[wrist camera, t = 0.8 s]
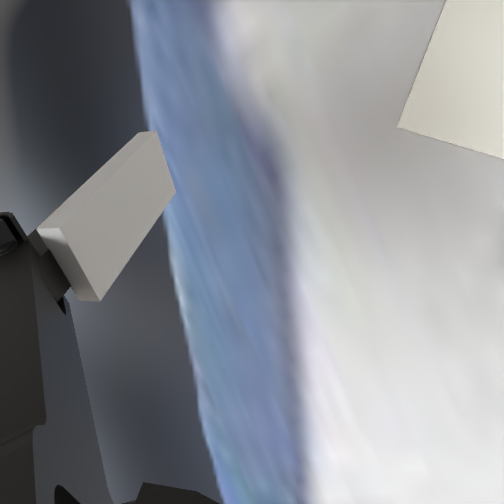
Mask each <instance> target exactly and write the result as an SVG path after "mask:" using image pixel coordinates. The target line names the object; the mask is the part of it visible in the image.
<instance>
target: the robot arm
mask: <svg viewBox="0 0 504 504" xmlns="http://www.w3.org/2000/svg"><path fill="white" fill-rule="evenodd" d="M175 193H176V190H175V187H174V184H173V181H172V178H171V175H170V172H169V169H168V166H167V162H166V159H165V156H164V153H163V150H162V147H161V144H160V141H159V138H158V135H157V132H156V131H149V132H139V133H138V134H137V135H136V136H135V137H134V138H133V139H131V140H130V141H129V142H128V143H127V144H126V145H125V146H124V147H123V148H122V149H121V150H120V151H119V152H118V153H117V154H115V155H114V156H113V157H112V158H111V159H110V160H109V161H108V162H107V163H106V164H105V165H104V166H103V167H101V168H100V169H99V170H98V171H97V172H96V173H95V174H94V175H93V176H92V177H91V178H90V179H89V180H88V181H87V182H85V183H84V184H83V185H82V186H81V187H80V188H79V189H78V190H77V191H76V192H75V193H74V194H73V195H71V196H70V197H69V198H68V199H67V200H66V201H65V202H64V203H63V204H62V205H61V206H60V207H58V208H57V210H55V211H54V212H53V213H52V214H51V215H50V216H49V217H48V218H47V219H46V220H44V221H43V222H42V223H41V224H40V225H39V226H38V227H37V228H36V229H35V230H34V231H33V232H32V233H31V234H30V235H28V236H26V234H25V233H24V231H23V229H22V228H21V226H20V225H19V223H18V221H17V220H16V218H15V216H14V215H13V213H9V212H2V213H0V504H114V503H113V501H112V498H111V496H110V493H109V491H108V487H107V482H106V477H105V473H104V468H103V464H102V459H101V453H100V449H99V444H98V439H97V435H96V430H95V426H94V420H93V415H92V411H91V406H90V401H89V397H88V391H87V386H86V382H85V377H84V372H83V368H82V363H81V358H80V353H79V349H78V344H77V339H76V334H75V329H74V324H73V320H72V315H71V310H70V305H69V303H68V301H67V299H66V298H65V296H64V294H65V293H66V291H67V290H68V289H69V288H70V287H71V288H72V289H73V291H74V293H75V294H76V296H77V298H78V299H79V300H80V301H101V299H102V298H103V296H104V295H105V294H106V292H107V290H108V289H109V287H110V286H111V285H112V283H113V282H114V281H115V279H116V278H117V276H118V275H119V273H120V272H121V271H122V269H123V268H124V266H125V265H126V263H127V262H128V260H129V259H130V258H131V256H132V255H133V253H134V252H135V250H136V249H137V247H138V246H139V245H140V243H141V242H142V240H143V239H144V237H145V236H146V235H147V233H148V232H149V230H150V229H151V227H152V226H153V225H154V223H155V221H156V220H157V219H158V217H159V216H160V214H161V213H162V212H163V210H164V209H165V207H166V206H167V204H168V203H169V202H170V200H171V199H172V197H173V196H174V194H175ZM123 504H219V503H217V502H215V501H214V500H211V499H210V498H208V497H206V496H204V495H202V494H200V493H198V492H196V491H191V490H185V489H179V488H173V487H168V486H162V485H156V484H150V483H145V482H143V484H142V487H141V489H140V492H139V494H138V497H137V499H136V500H133V501H130V502H126V503H123Z"/></svg>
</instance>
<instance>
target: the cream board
mask: <svg viewBox="0 0 504 504" xmlns="http://www.w3.org/2000/svg"><path fill="white" fill-rule="evenodd" d="M397 128H401V129H404V130H408V131H411V132H414V133H418V134H421V135H424V136H428V137H431V138H434V139H438V140H441V141H445V142H448V143H451V144H455V145H458V146H461V147H465V148H468V149H471V150H475V151H478V152H481V153H485V154H488V155H492V156H495V157H498V158H502V159H504V0H446V2H445V5H444V7H443V10H442V12H441V15H440V18H439V20H438V23H437V25H436V28H435V30H434V33H433V35H432V38H431V40H430V43H429V46H428V48H427V51H426V53H425V56H424V58H423V61H422V63H421V66H420V69H419V71H418V74H417V76H416V79H415V81H414V84H413V86H412V89H411V92H410V94H409V97H408V99H407V102H406V104H405V107H404V109H403V112H402V114H401V117H400V120H399V122H398V125H397Z"/></svg>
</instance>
